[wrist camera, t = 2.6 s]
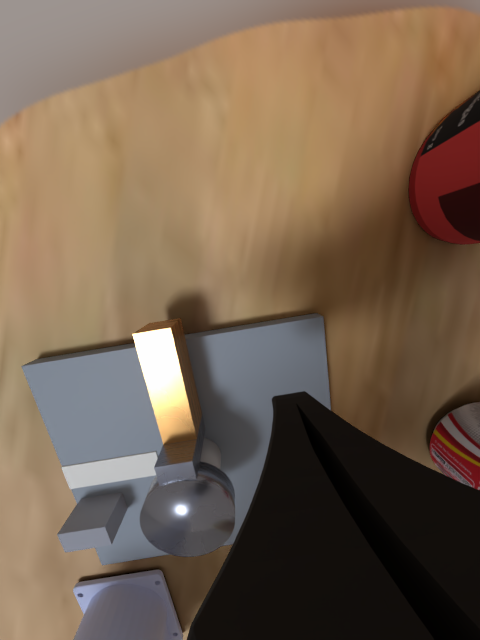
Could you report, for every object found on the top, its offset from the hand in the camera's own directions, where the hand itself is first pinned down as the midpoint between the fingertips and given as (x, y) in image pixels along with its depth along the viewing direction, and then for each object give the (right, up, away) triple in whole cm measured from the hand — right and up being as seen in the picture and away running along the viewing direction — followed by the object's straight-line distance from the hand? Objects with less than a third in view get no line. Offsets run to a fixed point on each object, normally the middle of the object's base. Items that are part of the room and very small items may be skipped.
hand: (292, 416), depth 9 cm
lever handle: (-6, -3, +7) cm, 9 cm away
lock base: (-5, -6, +9) cm, 12 cm away
